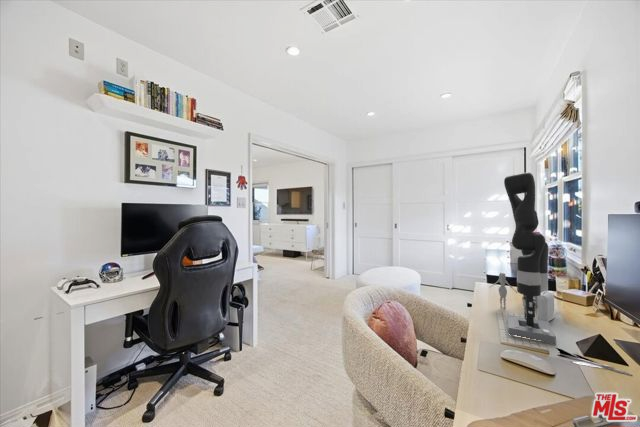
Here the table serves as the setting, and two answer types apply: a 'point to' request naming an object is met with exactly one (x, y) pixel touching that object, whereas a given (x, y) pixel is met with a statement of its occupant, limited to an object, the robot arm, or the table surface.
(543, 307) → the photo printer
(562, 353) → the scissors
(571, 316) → the table surface
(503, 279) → the human figurine
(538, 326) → the socket plate
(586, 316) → the table surface
